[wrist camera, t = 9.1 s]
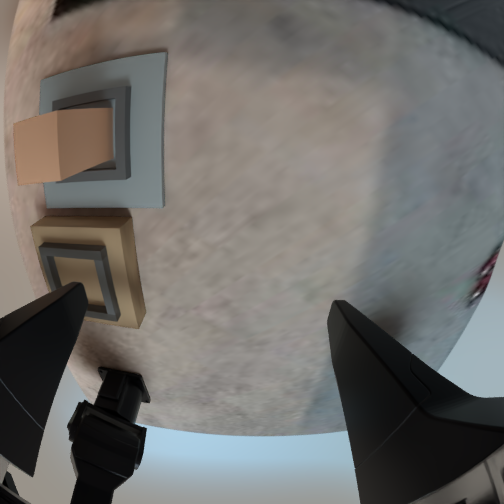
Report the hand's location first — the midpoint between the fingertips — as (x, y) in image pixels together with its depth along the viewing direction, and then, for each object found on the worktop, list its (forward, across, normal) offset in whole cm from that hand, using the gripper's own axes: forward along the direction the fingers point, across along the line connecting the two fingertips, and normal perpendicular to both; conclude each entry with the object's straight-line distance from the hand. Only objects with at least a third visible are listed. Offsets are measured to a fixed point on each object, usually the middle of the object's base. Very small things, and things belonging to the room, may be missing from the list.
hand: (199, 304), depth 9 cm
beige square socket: (+13, +13, +7) cm, 20 cm away
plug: (+12, +11, -5) cm, 17 cm away
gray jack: (+13, +11, -5) cm, 18 cm away
